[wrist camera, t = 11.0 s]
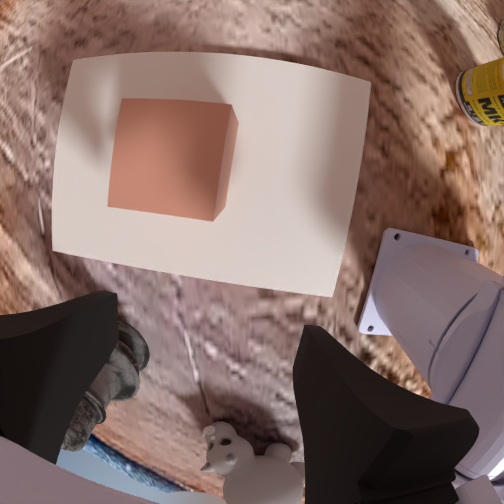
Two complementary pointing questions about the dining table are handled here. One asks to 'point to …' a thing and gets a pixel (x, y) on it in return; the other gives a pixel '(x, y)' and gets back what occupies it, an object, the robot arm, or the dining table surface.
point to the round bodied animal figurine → (252, 469)
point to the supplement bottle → (482, 93)
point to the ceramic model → (501, 36)
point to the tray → (242, 171)
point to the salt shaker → (109, 386)
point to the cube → (173, 157)
